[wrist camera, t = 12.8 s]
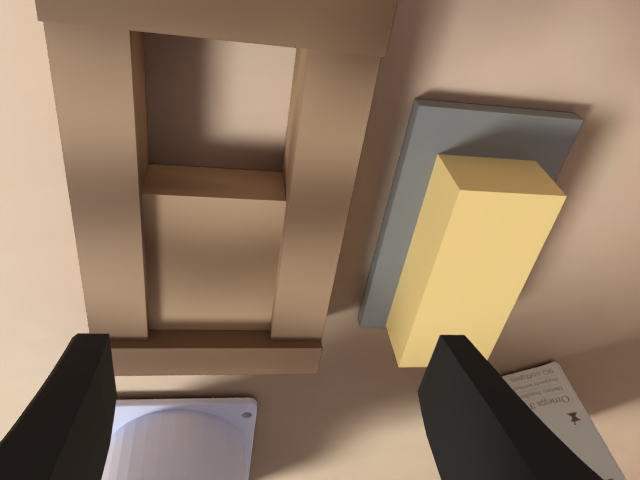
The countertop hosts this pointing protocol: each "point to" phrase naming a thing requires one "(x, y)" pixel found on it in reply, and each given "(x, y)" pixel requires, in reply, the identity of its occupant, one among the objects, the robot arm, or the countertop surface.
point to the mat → (464, 140)
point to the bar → (470, 253)
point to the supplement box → (564, 415)
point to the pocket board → (211, 185)
